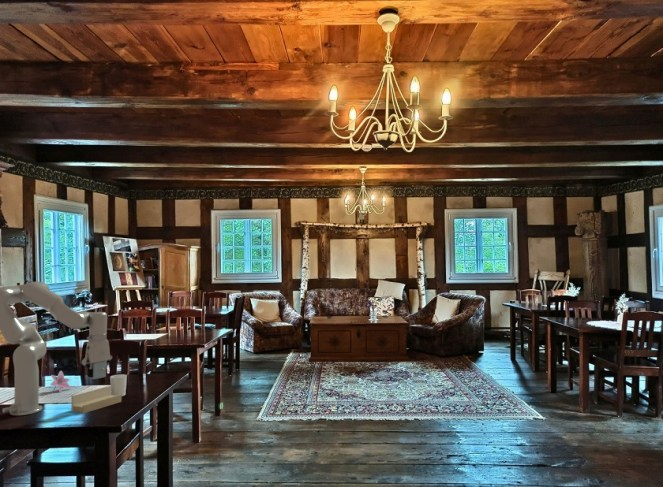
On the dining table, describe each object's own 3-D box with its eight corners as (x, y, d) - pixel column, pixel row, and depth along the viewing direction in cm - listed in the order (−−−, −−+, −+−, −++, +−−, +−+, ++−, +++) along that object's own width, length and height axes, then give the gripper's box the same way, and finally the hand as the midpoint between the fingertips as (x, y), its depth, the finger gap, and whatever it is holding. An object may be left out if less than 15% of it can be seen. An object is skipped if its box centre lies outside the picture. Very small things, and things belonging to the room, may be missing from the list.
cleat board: (83, 413, 214) (83, 397, 214) (71, 410, 218) (71, 395, 219) (121, 401, 232) (121, 387, 232) (109, 399, 236) (109, 385, 236)
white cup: (108, 398, 238) (108, 378, 239) (111, 394, 246) (111, 375, 246) (125, 396, 240) (125, 377, 241) (127, 392, 248) (127, 373, 249)
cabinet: (94, 379, 220) (95, 363, 220) (87, 377, 223) (87, 361, 223) (106, 376, 225) (107, 360, 226) (99, 375, 228) (99, 359, 229)
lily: (45, 396, 247) (54, 381, 247) (41, 384, 255) (49, 369, 255) (68, 398, 256) (77, 383, 256) (63, 386, 264) (71, 372, 264)
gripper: (85, 341, 216) (84, 380, 215) (118, 336, 231) (117, 373, 230) (75, 339, 220) (74, 378, 219) (109, 335, 235) (108, 371, 234)
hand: (96, 375), depth 224 cm, fingers closed on cabinet, 6 cm apart
